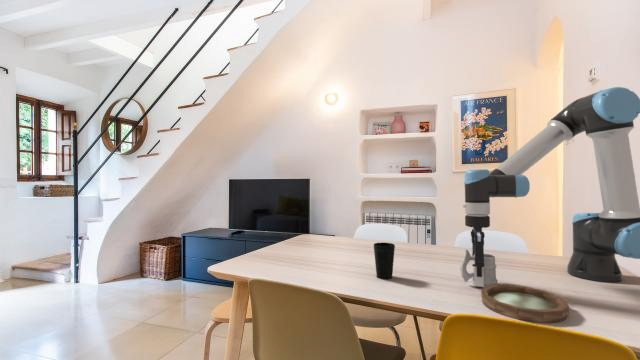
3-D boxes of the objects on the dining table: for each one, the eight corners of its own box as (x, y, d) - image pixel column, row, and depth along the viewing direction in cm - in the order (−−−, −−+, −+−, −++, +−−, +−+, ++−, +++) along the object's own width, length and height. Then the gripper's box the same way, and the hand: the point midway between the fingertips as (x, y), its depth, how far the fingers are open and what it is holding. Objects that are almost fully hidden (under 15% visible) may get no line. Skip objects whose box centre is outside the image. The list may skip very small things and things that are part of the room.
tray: (554, 299, 94) (554, 289, 94) (579, 328, 75) (579, 316, 75) (479, 290, 101) (479, 281, 101) (485, 315, 83) (485, 304, 83)
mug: (502, 288, 102) (502, 251, 103) (465, 289, 103) (465, 252, 103) (490, 281, 110) (489, 246, 110) (456, 281, 110) (455, 247, 110)
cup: (397, 275, 118) (396, 243, 118) (392, 281, 111) (392, 247, 111) (376, 273, 121) (376, 241, 121) (371, 278, 114) (371, 245, 114)
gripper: (463, 211, 118) (464, 272, 118) (466, 218, 99) (467, 290, 99) (486, 212, 115) (487, 274, 115) (493, 218, 96) (494, 293, 96)
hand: (478, 282), depth 107 cm, fingers closed on mug, 7 cm apart
